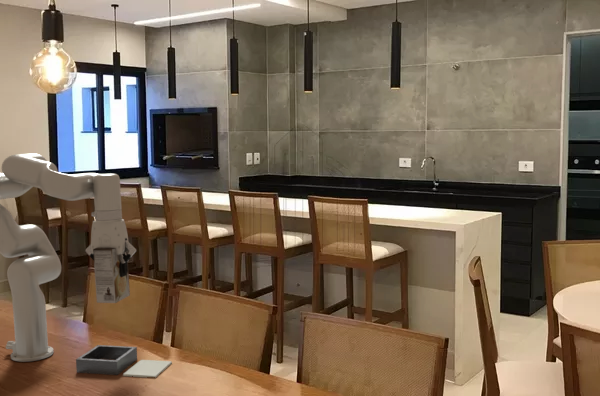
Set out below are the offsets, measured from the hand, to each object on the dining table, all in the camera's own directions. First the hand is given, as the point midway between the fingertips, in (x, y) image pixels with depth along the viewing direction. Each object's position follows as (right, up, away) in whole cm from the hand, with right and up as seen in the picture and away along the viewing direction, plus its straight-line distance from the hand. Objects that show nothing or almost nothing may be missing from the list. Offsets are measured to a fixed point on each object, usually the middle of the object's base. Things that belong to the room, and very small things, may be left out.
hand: (112, 275), depth 195 cm
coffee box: (0, -7, +1) cm, 7 cm away
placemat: (+11, -28, 0) cm, 30 cm away
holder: (-2, -28, +4) cm, 28 cm away
